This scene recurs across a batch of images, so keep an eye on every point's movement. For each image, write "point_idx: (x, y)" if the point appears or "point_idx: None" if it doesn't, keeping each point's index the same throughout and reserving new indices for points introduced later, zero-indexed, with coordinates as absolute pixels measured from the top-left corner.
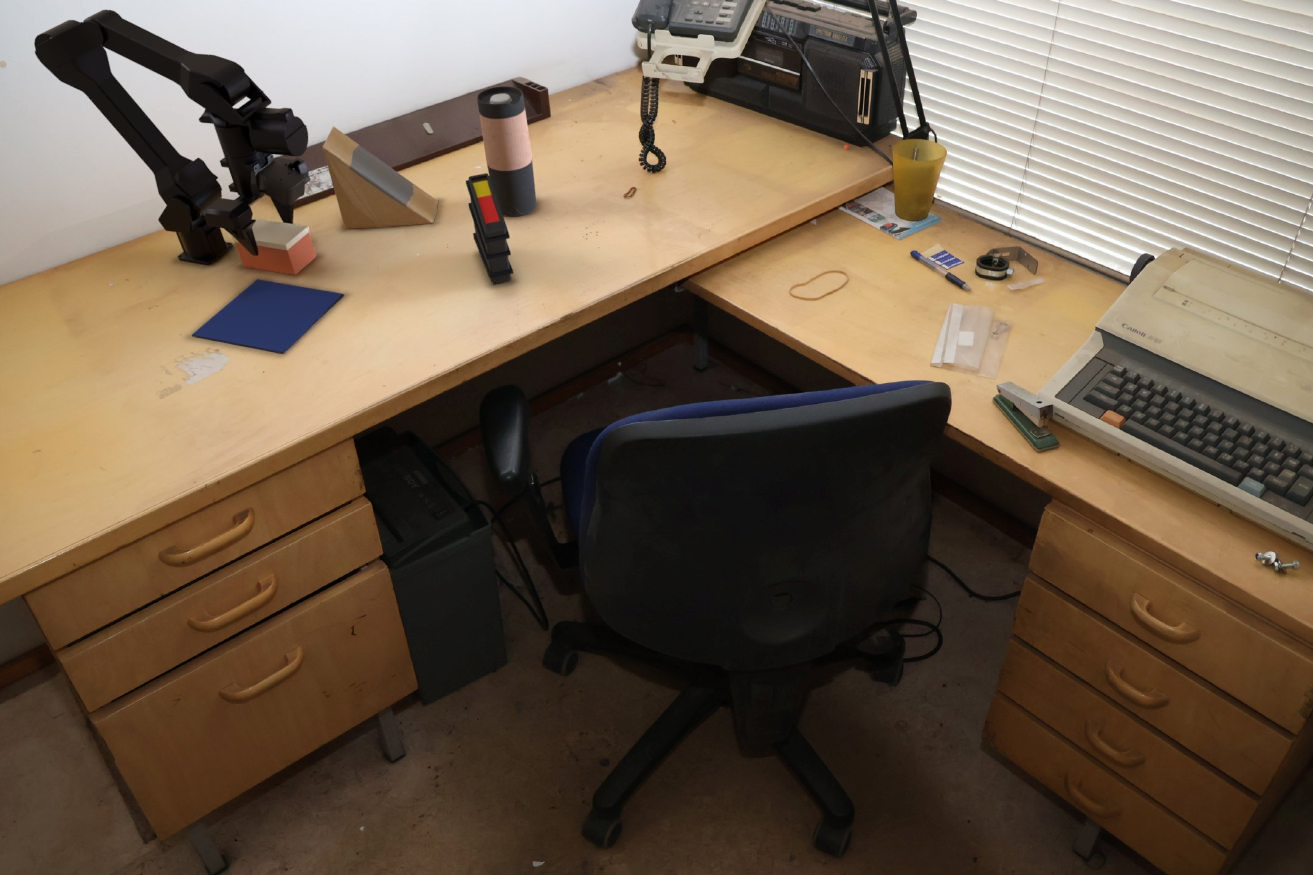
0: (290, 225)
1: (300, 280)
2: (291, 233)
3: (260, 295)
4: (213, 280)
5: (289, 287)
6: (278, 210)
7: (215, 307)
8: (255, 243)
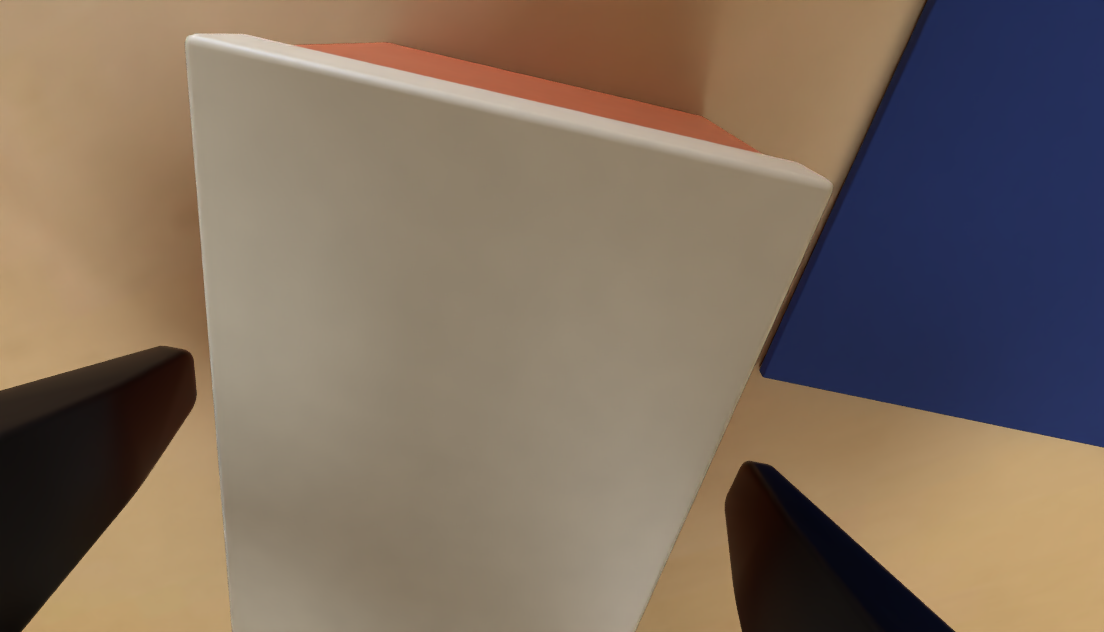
0: (254, 333)
1: (792, 30)
2: (466, 232)
3: (1021, 272)
4: (724, 586)
5: (947, 72)
6: (39, 585)
7: (1047, 491)
8: (839, 563)
